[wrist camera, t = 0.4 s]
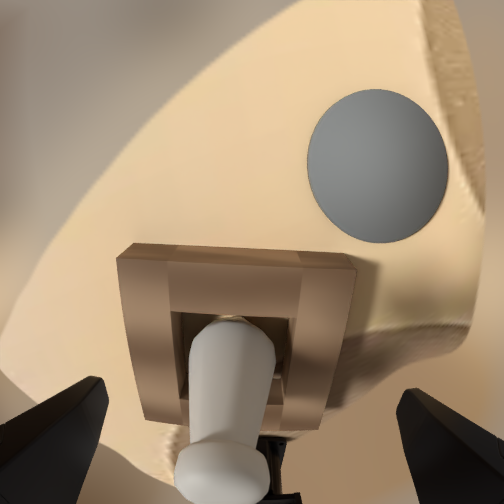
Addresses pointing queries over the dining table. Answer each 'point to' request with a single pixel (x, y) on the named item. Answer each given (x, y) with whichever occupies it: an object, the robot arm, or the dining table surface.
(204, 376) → the salt shaker
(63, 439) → the robot arm
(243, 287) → the walnut frame
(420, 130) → the slate coaster
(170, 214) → the dining table surface
